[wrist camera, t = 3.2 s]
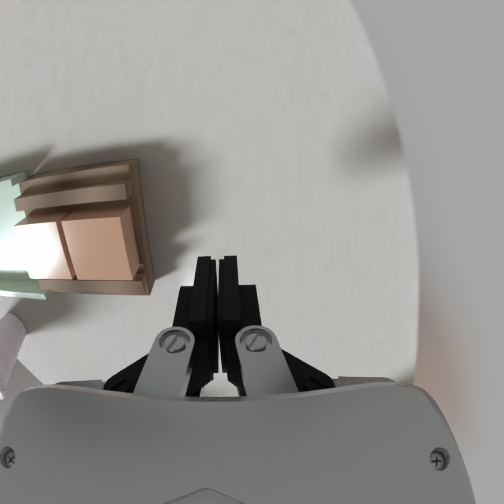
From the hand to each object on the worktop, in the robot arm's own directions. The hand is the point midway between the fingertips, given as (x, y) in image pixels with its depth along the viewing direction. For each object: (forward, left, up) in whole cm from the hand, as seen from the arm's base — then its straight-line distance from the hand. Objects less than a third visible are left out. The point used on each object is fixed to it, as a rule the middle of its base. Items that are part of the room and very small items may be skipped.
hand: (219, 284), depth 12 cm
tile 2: (+13, +1, -7) cm, 15 cm away
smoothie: (+27, +13, -9) cm, 31 cm away
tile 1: (+8, +1, -7) cm, 11 cm away
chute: (+11, +1, -9) cm, 14 cm away
